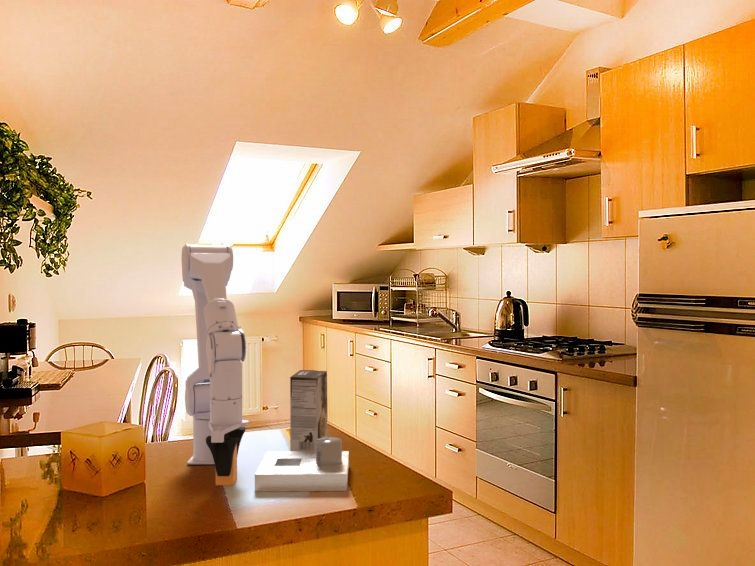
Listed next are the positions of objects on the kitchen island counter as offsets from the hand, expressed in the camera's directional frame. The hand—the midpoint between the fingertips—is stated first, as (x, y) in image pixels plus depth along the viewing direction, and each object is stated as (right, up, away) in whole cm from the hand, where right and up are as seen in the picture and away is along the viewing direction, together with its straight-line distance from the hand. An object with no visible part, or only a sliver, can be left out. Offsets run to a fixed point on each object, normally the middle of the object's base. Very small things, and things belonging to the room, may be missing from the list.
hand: (226, 471), depth 117 cm
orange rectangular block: (0, -2, 0) cm, 2 cm away
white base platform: (+14, -2, +2) cm, 14 cm away
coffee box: (+13, -2, +23) cm, 27 cm away
